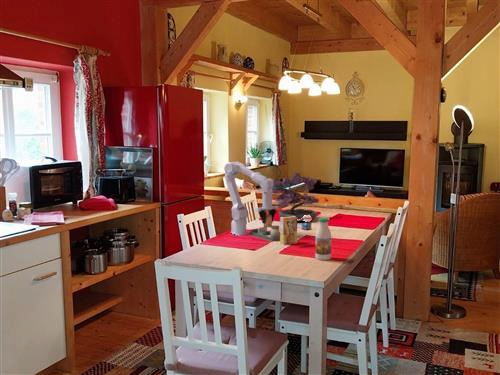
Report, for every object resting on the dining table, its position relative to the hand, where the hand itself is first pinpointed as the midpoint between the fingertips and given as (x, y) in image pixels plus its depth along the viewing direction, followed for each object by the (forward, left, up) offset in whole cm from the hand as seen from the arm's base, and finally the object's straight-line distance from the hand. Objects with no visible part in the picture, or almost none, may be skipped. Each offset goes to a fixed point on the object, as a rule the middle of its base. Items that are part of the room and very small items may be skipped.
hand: (267, 222), depth 282 cm
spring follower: (-6, 0, -8) cm, 10 cm away
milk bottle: (+52, -6, -9) cm, 53 cm away
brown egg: (+7, 0, -8) cm, 11 cm away
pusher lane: (0, 0, -9) cm, 9 cm away
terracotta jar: (0, 0, -2) cm, 2 cm away
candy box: (+20, -1, -9) cm, 22 cm away
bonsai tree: (-33, +48, -9) cm, 59 cm away
